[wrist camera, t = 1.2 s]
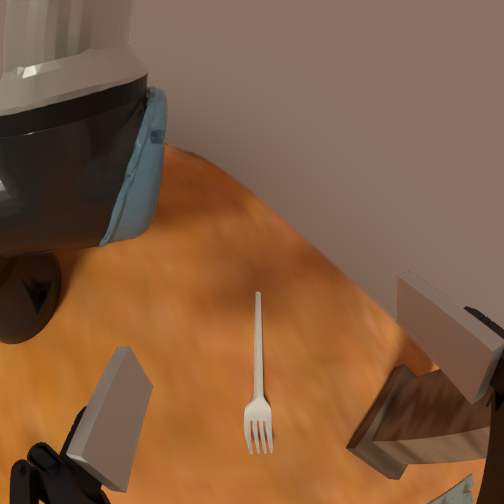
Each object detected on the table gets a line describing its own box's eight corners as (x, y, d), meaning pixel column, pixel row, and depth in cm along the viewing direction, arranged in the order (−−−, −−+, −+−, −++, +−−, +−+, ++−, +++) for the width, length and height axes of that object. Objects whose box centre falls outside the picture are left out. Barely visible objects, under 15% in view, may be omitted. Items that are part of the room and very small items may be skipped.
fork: (268, 294, 36) (273, 288, 34) (271, 451, 24) (277, 453, 22) (244, 291, 35) (247, 285, 33) (242, 452, 23) (246, 454, 22)
